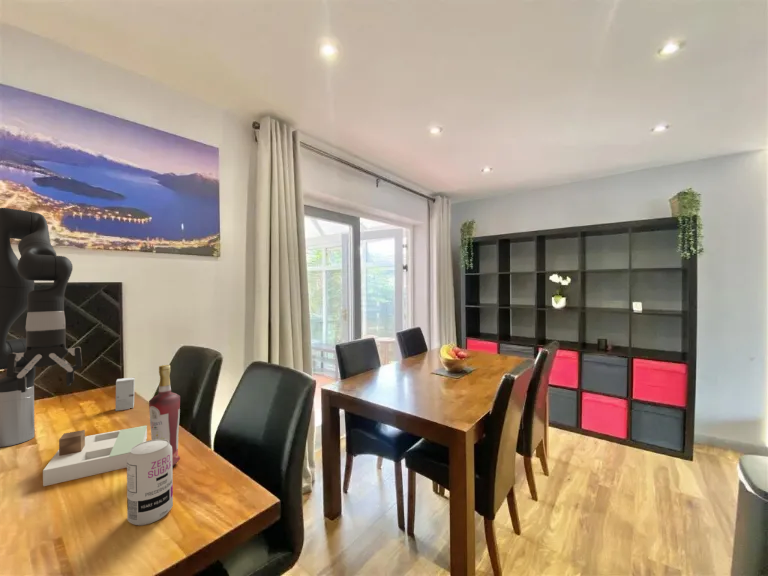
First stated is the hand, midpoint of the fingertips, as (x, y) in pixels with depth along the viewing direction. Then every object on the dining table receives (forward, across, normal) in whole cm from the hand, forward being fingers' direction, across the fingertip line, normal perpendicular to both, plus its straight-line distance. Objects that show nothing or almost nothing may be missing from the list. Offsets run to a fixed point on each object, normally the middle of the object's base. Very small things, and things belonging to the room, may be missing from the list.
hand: (46, 388), depth 90 cm
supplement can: (+25, -20, +37) cm, 49 cm away
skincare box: (+21, -18, -49) cm, 56 cm away
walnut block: (+19, -5, -2) cm, 20 cm away
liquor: (+24, -25, +15) cm, 38 cm away
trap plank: (+23, -11, -2) cm, 25 cm away
